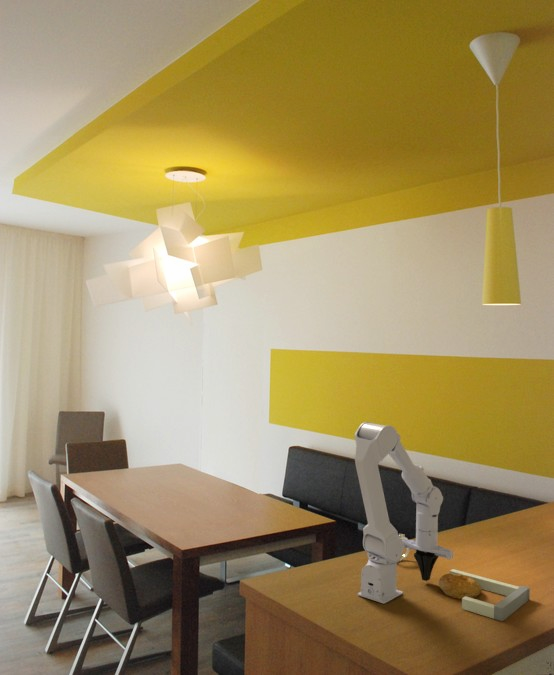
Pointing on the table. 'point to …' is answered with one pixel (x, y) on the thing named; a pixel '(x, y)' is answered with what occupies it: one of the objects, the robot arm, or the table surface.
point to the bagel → (459, 586)
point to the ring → (406, 548)
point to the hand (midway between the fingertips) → (425, 579)
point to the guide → (505, 606)
